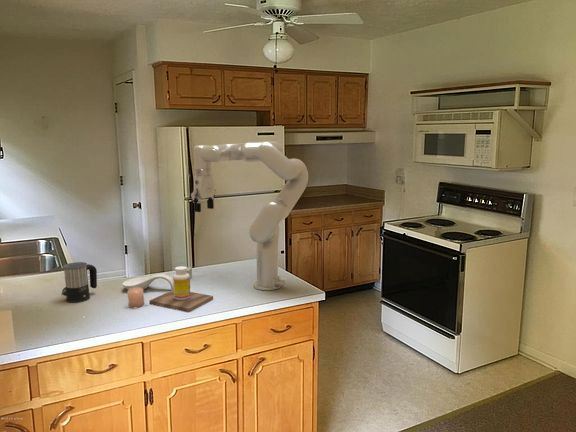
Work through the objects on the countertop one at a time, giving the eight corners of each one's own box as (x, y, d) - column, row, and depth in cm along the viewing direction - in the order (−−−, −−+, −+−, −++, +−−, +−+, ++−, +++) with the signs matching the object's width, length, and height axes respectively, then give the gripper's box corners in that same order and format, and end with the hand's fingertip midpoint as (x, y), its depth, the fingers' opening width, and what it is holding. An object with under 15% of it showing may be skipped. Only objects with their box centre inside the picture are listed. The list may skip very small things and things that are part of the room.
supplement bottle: (191, 299, 198) (190, 269, 196) (175, 301, 196) (174, 271, 193) (188, 294, 204) (187, 264, 202) (172, 296, 202) (171, 266, 200)
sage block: (192, 277, 232) (191, 267, 231) (188, 280, 227) (188, 270, 226) (182, 277, 233) (181, 267, 232) (178, 280, 228) (178, 270, 227)
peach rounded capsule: (129, 301, 198) (127, 288, 197) (144, 299, 200) (142, 286, 198) (128, 308, 193) (127, 294, 191) (144, 306, 194) (143, 292, 193)
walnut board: (213, 299, 203) (213, 295, 202) (189, 312, 189) (189, 308, 188) (175, 292, 211) (175, 288, 211) (149, 304, 197) (149, 300, 197)
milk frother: (80, 304, 198) (77, 268, 195) (47, 300, 201) (43, 266, 199) (101, 292, 211) (99, 259, 208) (70, 289, 215) (67, 257, 212)
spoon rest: (118, 293, 210) (117, 277, 209) (129, 284, 222) (128, 269, 221) (171, 295, 208) (170, 279, 207) (179, 286, 220) (179, 271, 218)
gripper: (198, 174, 210) (199, 213, 213) (220, 171, 225) (221, 208, 228) (184, 174, 213) (185, 212, 216) (207, 170, 228) (208, 206, 231)
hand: (204, 210), depth 222 cm, fingers open, 9 cm apart
